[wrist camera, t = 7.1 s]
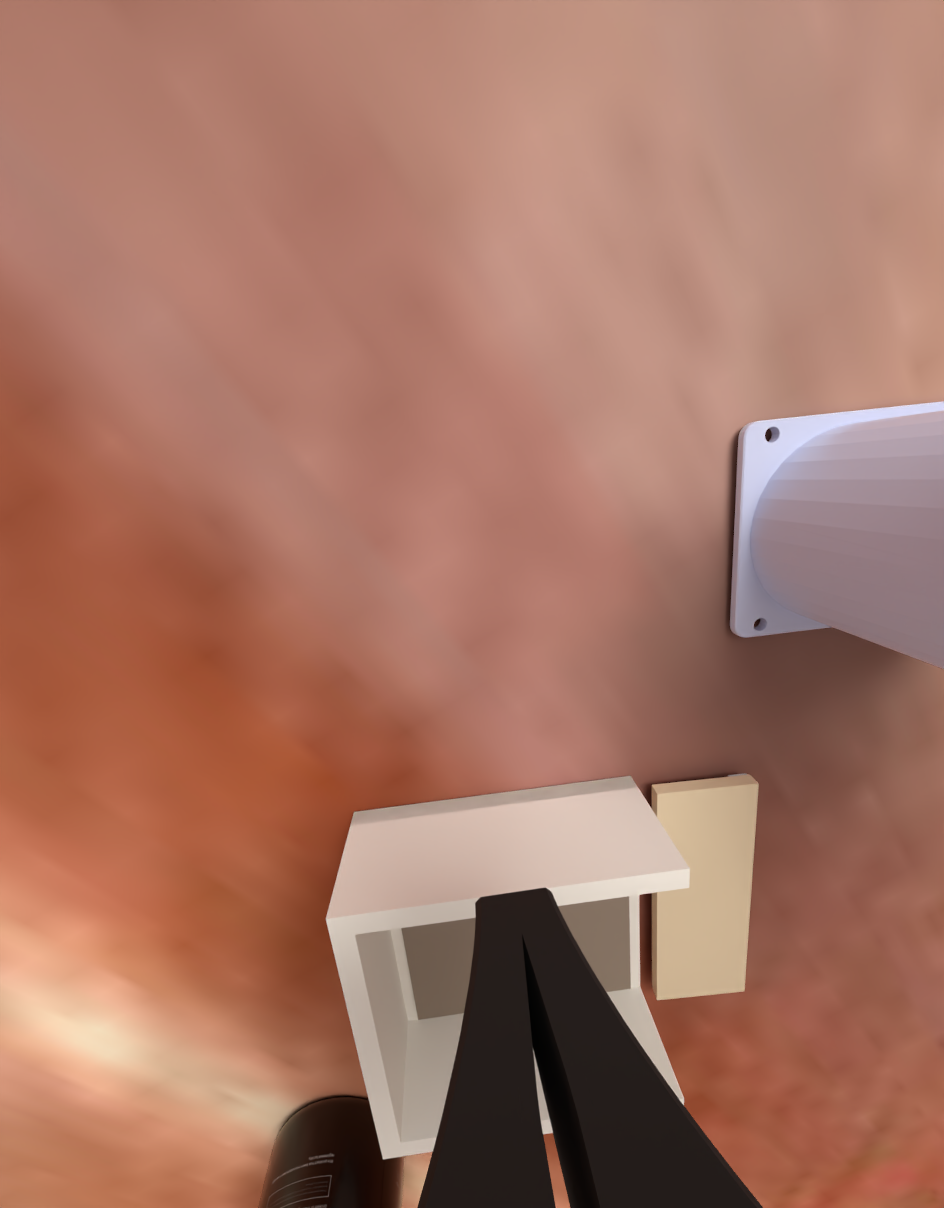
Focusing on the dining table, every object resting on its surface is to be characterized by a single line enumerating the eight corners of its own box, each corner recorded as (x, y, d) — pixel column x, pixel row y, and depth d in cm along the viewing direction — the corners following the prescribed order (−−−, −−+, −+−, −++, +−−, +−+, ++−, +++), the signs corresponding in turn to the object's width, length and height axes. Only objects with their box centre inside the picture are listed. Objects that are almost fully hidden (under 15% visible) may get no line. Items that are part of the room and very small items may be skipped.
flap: (650, 783, 20) (748, 773, 20) (651, 985, 23) (736, 976, 23) (657, 793, 19) (758, 783, 19) (657, 1000, 22) (744, 991, 22)
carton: (630, 775, 20) (689, 868, 15) (633, 981, 23) (683, 1112, 19) (354, 811, 20) (325, 918, 15) (395, 1016, 23) (383, 1159, 18)
